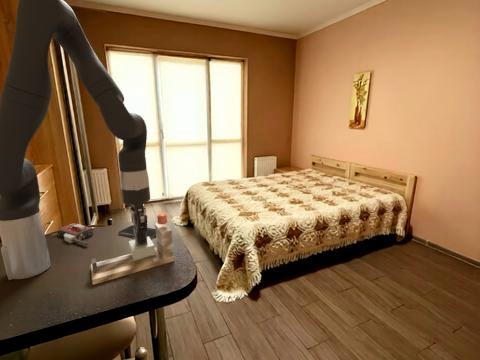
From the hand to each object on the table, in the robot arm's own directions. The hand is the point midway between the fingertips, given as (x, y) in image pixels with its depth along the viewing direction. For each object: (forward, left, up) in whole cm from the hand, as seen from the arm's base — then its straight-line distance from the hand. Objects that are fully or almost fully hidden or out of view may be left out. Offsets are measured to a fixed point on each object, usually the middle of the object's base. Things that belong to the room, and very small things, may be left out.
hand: (141, 240), depth 77 cm
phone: (+3, +22, -8) cm, 24 cm away
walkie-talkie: (-17, +31, -8) cm, 36 cm away
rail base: (-3, 0, -7) cm, 8 cm away
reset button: (+7, 0, +4) cm, 8 cm away
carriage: (0, 0, -4) cm, 4 cm away
